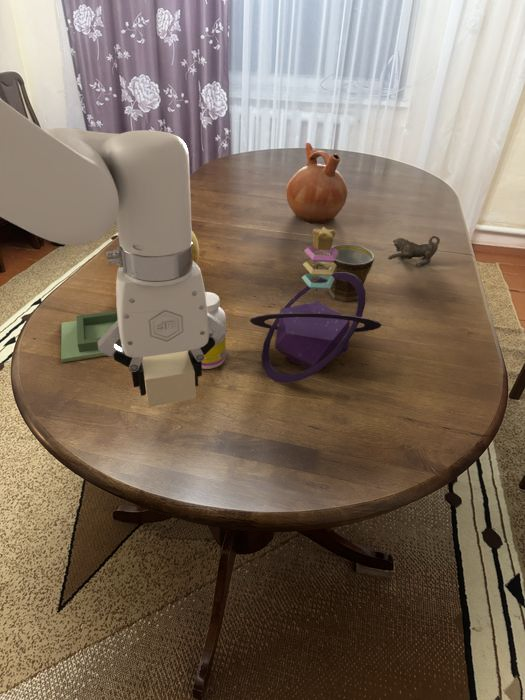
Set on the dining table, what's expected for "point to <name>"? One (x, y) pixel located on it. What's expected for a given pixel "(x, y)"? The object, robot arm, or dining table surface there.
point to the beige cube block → (169, 378)
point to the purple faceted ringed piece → (314, 318)
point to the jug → (317, 188)
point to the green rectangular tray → (85, 335)
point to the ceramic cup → (350, 269)
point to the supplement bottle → (219, 350)
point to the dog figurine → (415, 250)
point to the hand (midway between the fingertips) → (168, 383)
